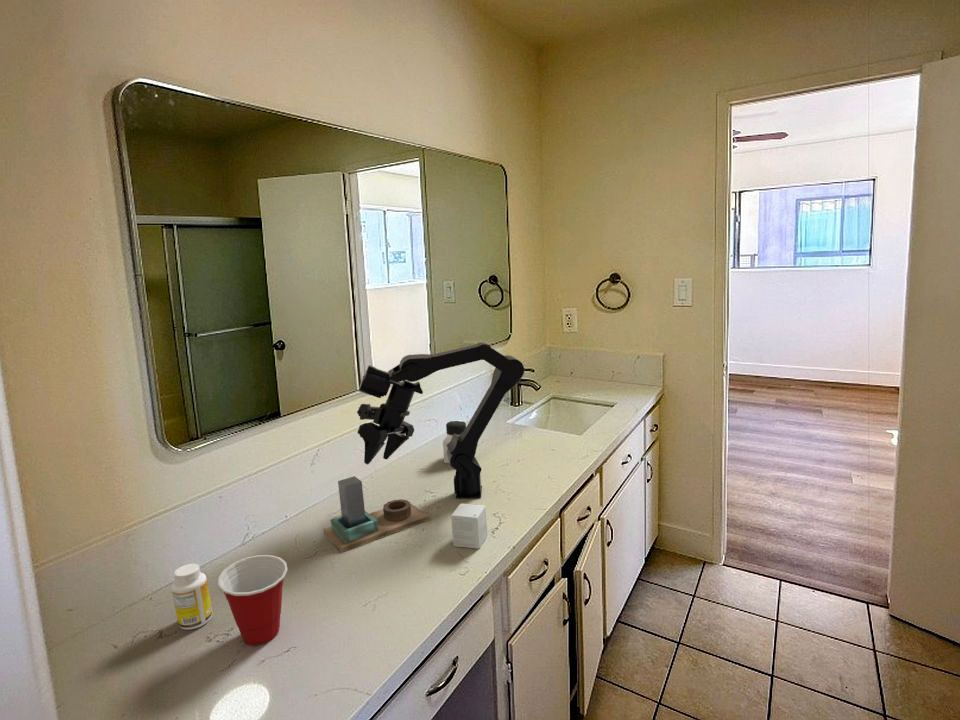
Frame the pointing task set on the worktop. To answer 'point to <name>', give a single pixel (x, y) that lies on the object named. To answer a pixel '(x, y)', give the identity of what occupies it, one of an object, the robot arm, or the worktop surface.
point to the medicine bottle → (452, 428)
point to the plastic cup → (255, 596)
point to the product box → (469, 526)
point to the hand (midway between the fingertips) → (375, 461)
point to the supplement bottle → (191, 597)
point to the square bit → (351, 502)
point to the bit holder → (375, 524)
